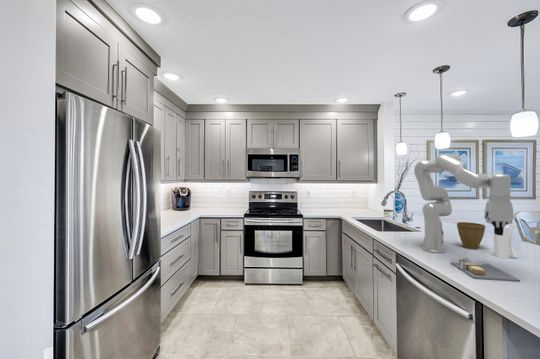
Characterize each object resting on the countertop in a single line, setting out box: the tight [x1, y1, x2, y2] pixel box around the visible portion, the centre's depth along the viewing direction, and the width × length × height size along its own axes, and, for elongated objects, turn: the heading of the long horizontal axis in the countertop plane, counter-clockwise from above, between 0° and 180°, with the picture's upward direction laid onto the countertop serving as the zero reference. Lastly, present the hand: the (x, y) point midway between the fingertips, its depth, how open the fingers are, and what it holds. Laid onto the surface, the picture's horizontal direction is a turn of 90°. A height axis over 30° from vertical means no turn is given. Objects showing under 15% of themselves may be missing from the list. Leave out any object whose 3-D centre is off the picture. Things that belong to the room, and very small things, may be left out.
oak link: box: [458, 257, 485, 275], centre depth 121 cm, size 15×4×3 cm, turn 166°
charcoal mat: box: [450, 261, 521, 283], centre depth 120 cm, size 20×18×1 cm
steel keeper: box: [460, 261, 484, 270], centre depth 121 cm, size 2×9×4 cm, turn 78°
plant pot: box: [456, 221, 486, 250], centre depth 159 cm, size 15×15×16 cm
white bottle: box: [489, 222, 519, 259], centre depth 140 cm, size 7×12×25 cm, turn 58°
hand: (498, 234), depth 119 cm, fingers closed
